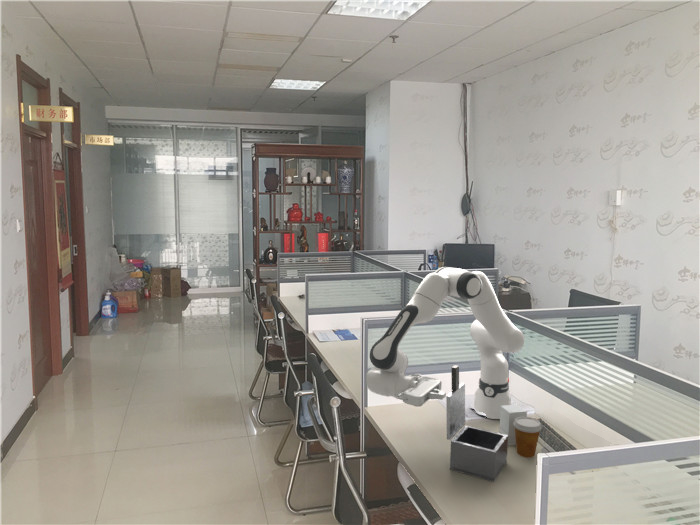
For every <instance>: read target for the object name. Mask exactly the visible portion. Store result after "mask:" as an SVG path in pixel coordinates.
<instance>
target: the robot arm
mask: <svg viewBox="0 0 700 525" xmlns="http://www.w3.org/2000/svg"><path fill="white" fill-rule="evenodd" d="M492 285H493V284H492V283H491V281H490V279H489V278H488V277H487V275H486V274H485V273H484V272H482V271H479V270H475V271H470V270H466V269H464V268H463V269H462V268H460V267H459V268H457V267H451V266H442V267H439V268H437V269H436V270H435V271H434V272H430V273H429V274H427V275H426V276H425V277H424V278H423V279H422V281H421V282H420V284H419V285H418V286H417V288H416V289H415V291H414V293H413V295H412V296H411V298H410V300H409V301H408V303H406V305H405V306H404V307H403V308H402V309H401V310H400V311H399V312H398V314H397V316H396V317H395V318H394V320H393V321H392V323H391V324H390V325H389V327H388V329H387V330H386V332H384V334H383V335H382V336H381V338H380V339H378V340H377V341H375V343H374V344H372V346H371V348H370V350H369V351H370V352H369V359H370V362H371V365H373V366H374V367H372V368H371V369H370V370H369V371H367V373H366V376H365V383H366V387H367V389H368V390H369V391H370V392H371V393H373V394H376V395H380V396H384V397H387V398H389V397H390V398H391V397H392V398H395V399H396V400H401V401H402V402H403V403H404V404H406V405H410V406H413V407H422V406H423V405H425V404H426V403H427V402H429V400H444V399H446V396H447V395H446V394H447V393H446V392H445V391H442V383H443V381H441V380H440V379H437V378H435V377H430V376H426V375H425V376H423V375H422V374H421V373H415V374H408V375H407V374H406V372H407V368H408V365H409V358H408V356H407V354H406V353H405V352H404V351H402V349H400V348H399V345H400V344H401V342H403V339H404V338H405V336H406V334H407V333H408V332H409V330H410V329H411V328H412V327H413V326H414V325H417V324H426V323H429V322H431V321H433V319H434V318H435V317H436V315H437V314H438V312H439V311H440V309H441V307H442V305H443V302H444V301H445V298H446V297H448V296H450V297H454V298H460V299H463V300H466V301H467V302H468V305H469V307H470V309H471V311H472V315H473V317H474V318H475V320H473V322H472V323H471V325H470V328H469V329H470V330H469V334H470V336H471V338H472V340H473V341H474V342H475V345H476V346H477V347H476V348H477V350H478V354H479V358H480V375H479V376H480V378H478V379H479V380H478V388H477V389H475V392H474V399H473V400H474V401H473V403H472V404H471V405H470V406H473V405H474V408H475V409H476V410H477V411H479V412H483V413H485V414H486V416H487V418H486V419H492V420H500V408H501V406H505V405H512V404H511V401H513V400H512V398H513V397H512V396H513V395H512V394H513V393H512V392H511V391H510V390H509V388H510V378H508V376H509V363H508V360H507V359H506V358H505V356H504V355H503V354H504V353H508V354H516V353H519V352H520V351H521V350H522V348H523V347H524V344H525V336H524V335H525V334H524V333H523V331H521V330H520V329H519V328H517V326H515V325H514V323H513V322H512V321H511V320H510V319H509V317H508V316H507V315H506V313H505V312H504V310H503V309H502V307H501V305H500V303H499V300H498V297H497V295H496V293H495V290H494V288H493V286H492Z"/></svg>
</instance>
